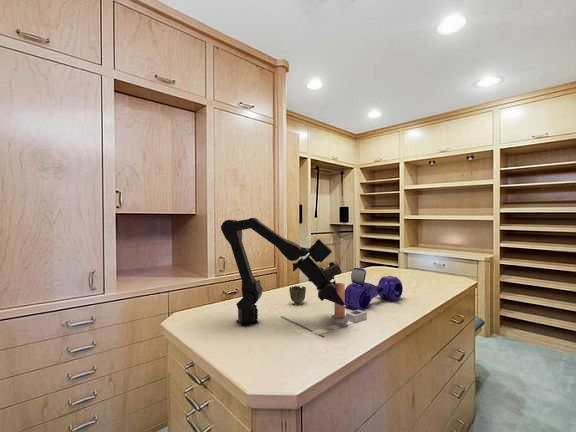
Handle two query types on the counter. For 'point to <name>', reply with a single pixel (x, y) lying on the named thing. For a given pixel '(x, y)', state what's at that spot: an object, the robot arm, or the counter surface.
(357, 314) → the gray rectangular block
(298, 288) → the cup
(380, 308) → the counter surface
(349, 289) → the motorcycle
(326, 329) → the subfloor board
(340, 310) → the marker peg
